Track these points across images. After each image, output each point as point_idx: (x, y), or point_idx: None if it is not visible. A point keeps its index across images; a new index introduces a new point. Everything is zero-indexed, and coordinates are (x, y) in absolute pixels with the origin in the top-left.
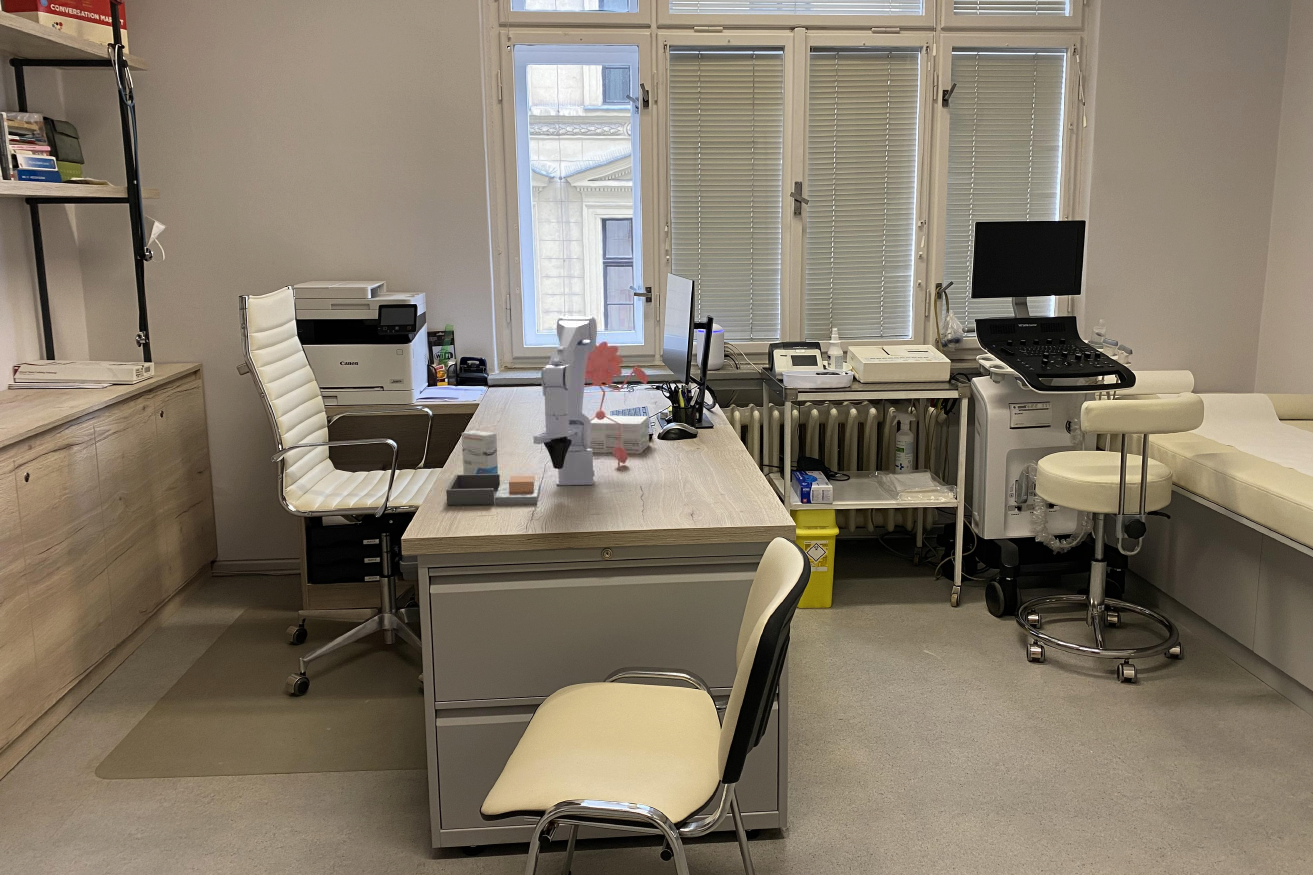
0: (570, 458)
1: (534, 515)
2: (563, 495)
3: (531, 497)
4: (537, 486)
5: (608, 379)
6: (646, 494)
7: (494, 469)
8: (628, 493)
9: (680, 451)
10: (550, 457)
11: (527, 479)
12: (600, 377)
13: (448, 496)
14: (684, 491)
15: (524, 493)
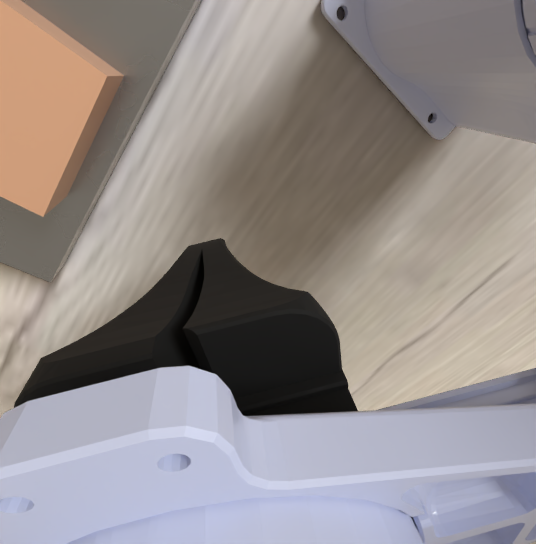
0: (480, 54)
1: (12, 364)
2: (232, 206)
3: (26, 270)
4: (127, 111)
5: None
6: (427, 340)
7: None
8: (408, 309)
9: None
10: (160, 280)
11: (16, 143)
12: None
13: None
14: (502, 361)
15: (1, 202)
